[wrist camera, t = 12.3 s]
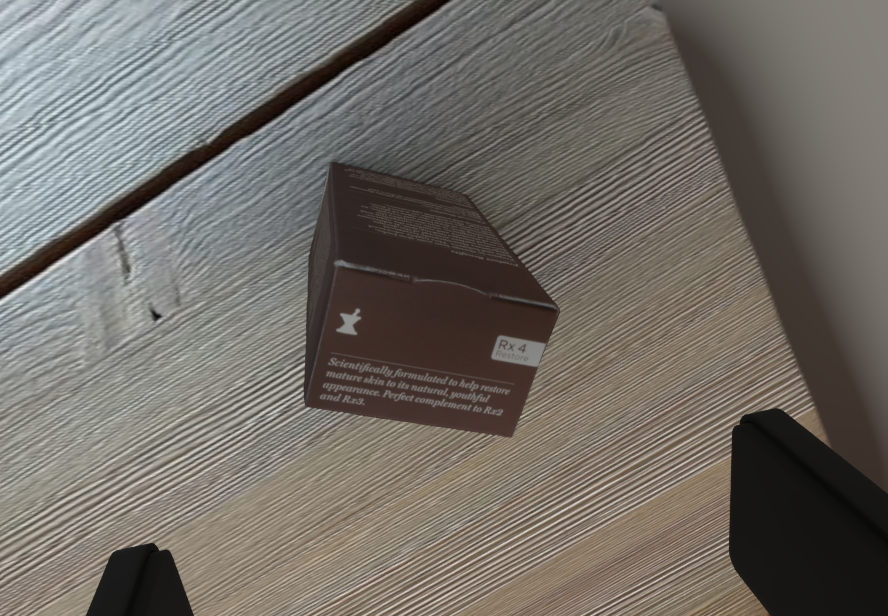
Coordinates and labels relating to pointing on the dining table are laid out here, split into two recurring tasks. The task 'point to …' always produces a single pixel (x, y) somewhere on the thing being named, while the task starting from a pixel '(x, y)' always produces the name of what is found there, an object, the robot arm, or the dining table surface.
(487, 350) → the box
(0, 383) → the dining table surface
